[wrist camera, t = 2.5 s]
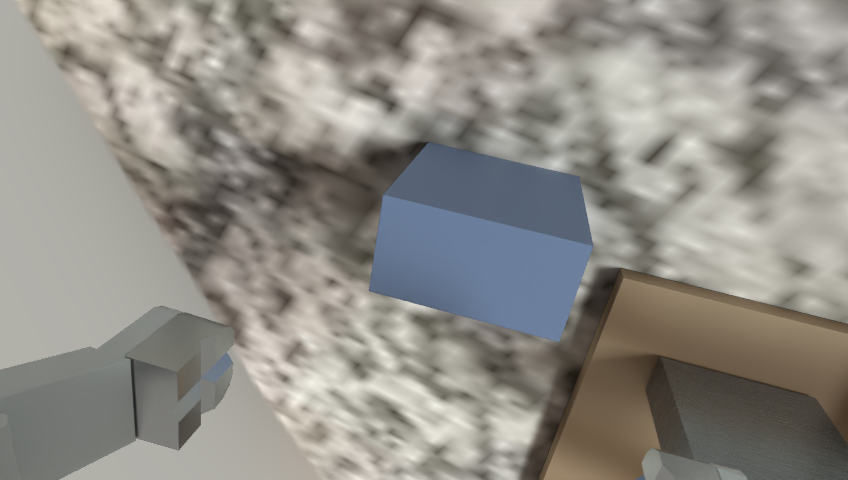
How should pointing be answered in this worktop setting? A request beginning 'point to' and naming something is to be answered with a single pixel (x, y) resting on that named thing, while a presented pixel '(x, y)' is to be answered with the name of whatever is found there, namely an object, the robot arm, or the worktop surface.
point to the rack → (692, 344)
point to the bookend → (744, 425)
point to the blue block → (484, 240)
